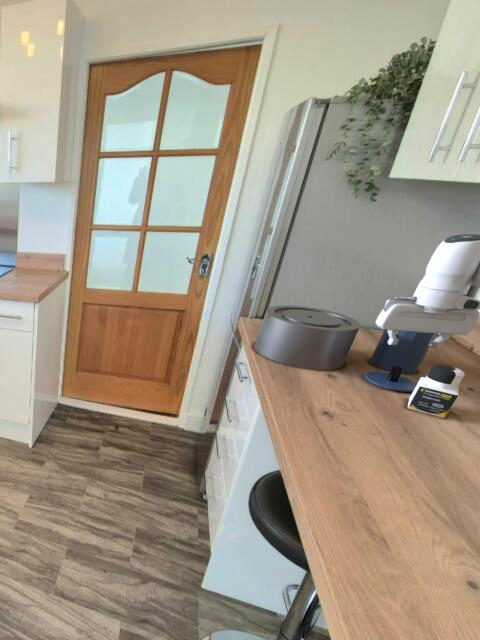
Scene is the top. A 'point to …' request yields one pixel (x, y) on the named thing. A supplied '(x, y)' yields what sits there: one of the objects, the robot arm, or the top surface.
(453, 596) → the top surface
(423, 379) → the medicine bottle
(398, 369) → the tin lid
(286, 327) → the container
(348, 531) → the top surface
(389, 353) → the tin
